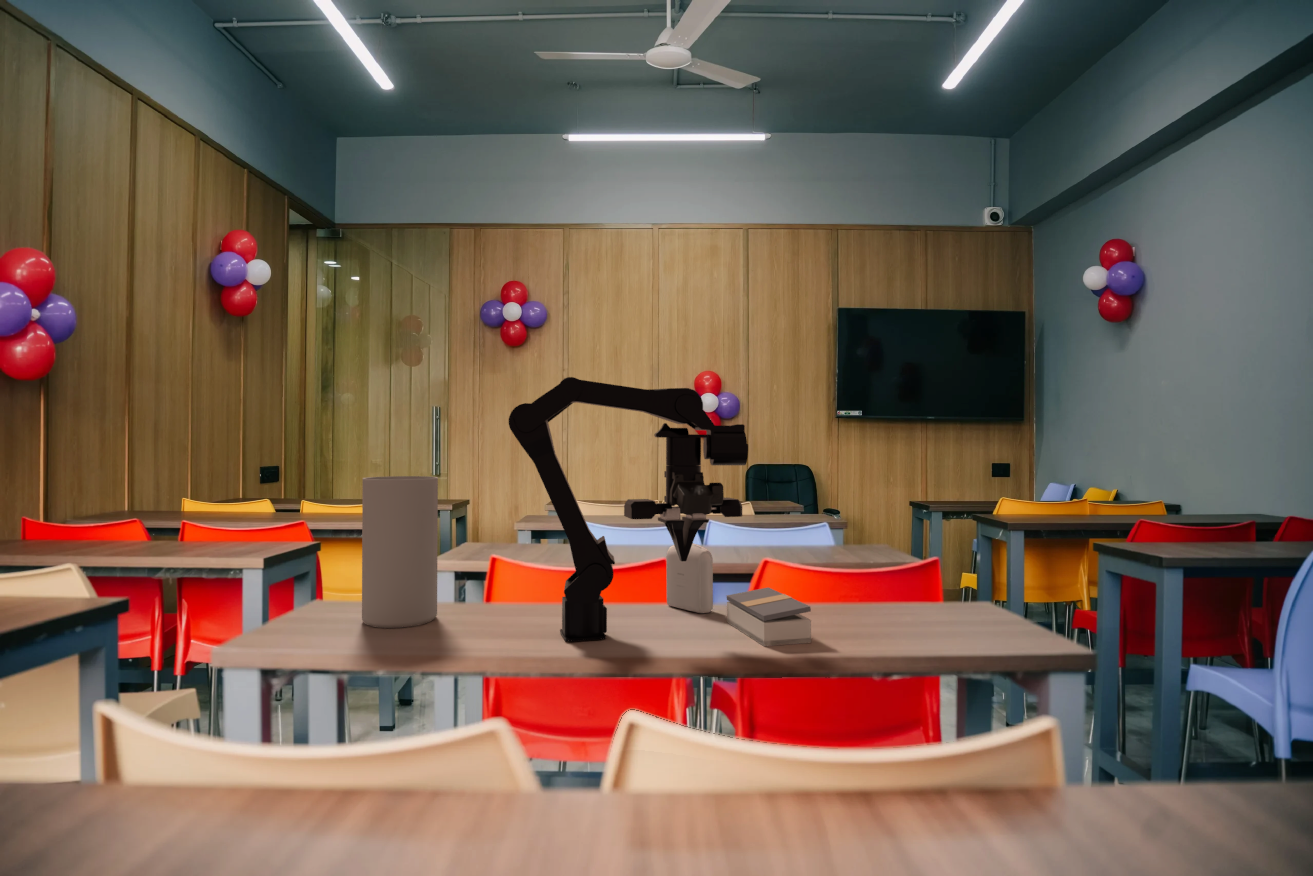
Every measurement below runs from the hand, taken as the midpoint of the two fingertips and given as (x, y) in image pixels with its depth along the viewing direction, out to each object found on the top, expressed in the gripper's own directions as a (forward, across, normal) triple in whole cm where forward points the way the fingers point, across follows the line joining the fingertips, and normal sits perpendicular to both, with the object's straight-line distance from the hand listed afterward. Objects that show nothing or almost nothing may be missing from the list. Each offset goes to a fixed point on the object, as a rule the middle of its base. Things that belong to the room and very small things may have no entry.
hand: (683, 561), depth 124 cm
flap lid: (+8, +14, -2) cm, 16 cm away
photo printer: (+12, +7, +18) cm, 23 cm away
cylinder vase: (+12, -45, +22) cm, 52 cm away
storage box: (+12, +14, -2) cm, 19 cm away
